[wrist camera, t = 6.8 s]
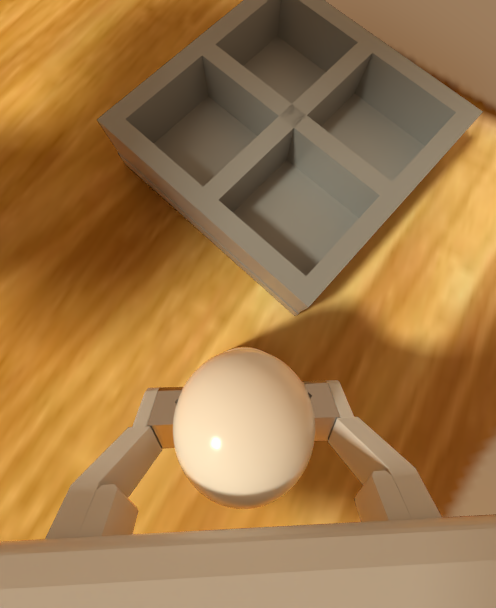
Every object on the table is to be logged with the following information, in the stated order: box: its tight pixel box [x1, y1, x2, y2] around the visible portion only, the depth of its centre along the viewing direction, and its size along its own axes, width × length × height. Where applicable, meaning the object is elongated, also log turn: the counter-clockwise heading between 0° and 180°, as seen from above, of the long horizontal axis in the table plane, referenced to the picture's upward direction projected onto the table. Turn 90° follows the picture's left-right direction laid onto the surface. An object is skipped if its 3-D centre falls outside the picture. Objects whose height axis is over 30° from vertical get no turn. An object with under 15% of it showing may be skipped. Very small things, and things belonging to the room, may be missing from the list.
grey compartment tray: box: [97, 0, 483, 316], centre depth 16 cm, size 17×17×4 cm
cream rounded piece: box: [173, 347, 315, 509], centre depth 11 cm, size 5×5×9 cm
